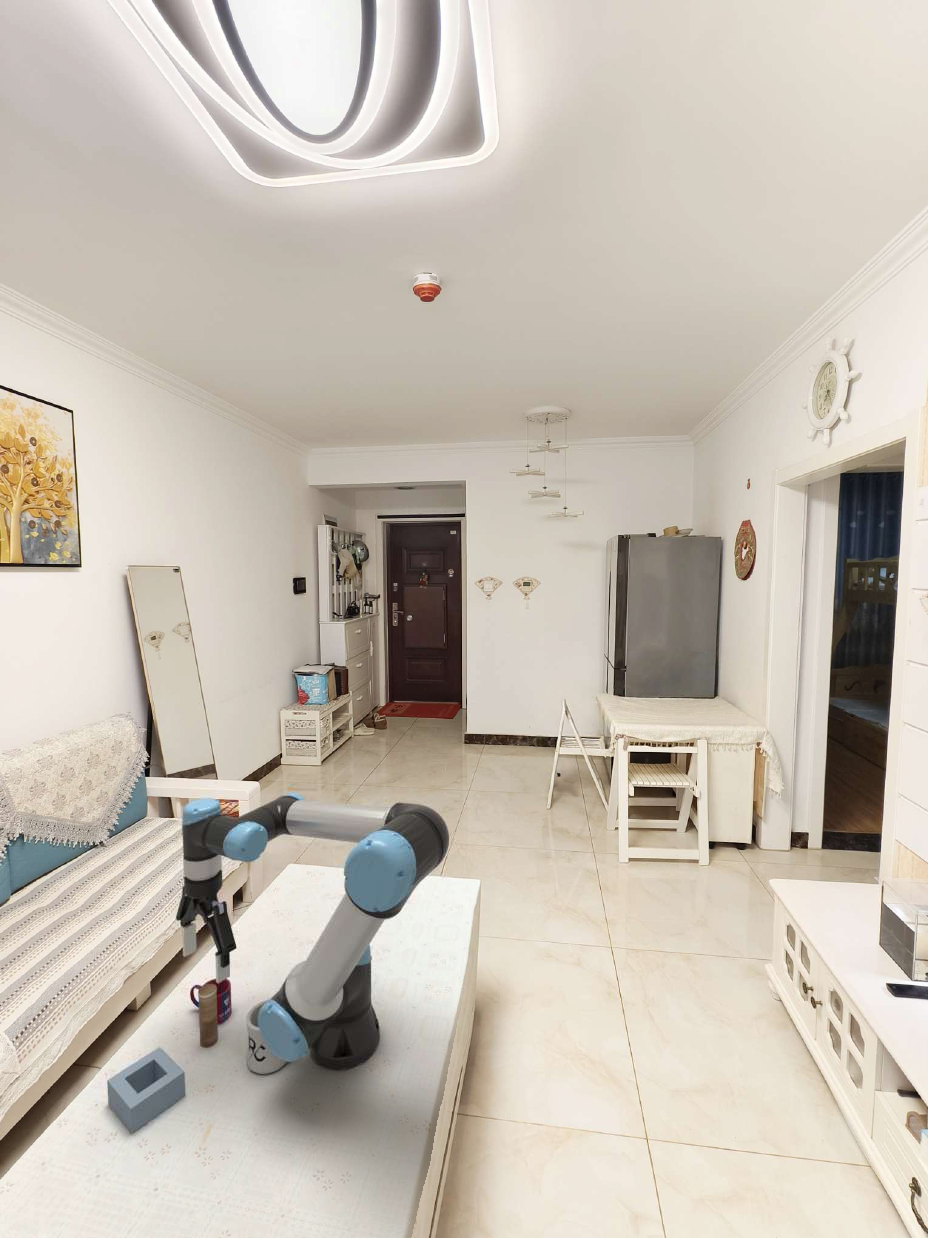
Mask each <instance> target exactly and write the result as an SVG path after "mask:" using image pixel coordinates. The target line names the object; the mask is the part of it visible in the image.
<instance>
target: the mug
mask: <svg viewBox="0 0 928 1238" xmlns="http://www.w3.org/2000/svg"><path fill="white" fill-rule="evenodd" d="M267 1000H268V999H266V1000H262V1001H261V1002H258V1003H257V1004H255V1005H254V1006H252V1008H251V1009H250V1010H249V1011H248V1013H247V1015H246V1018H245V1023H246V1029H247V1049H246V1051H247V1052H246V1064H247V1067H248V1069H249V1070H250V1071H252V1072H254V1073H257V1074H259V1075H260V1074H261V1075H266V1074H271V1073H275V1072H276V1071H278V1070H280V1069H281V1068H283V1066H284V1065H286V1063H288V1062H287V1061H285V1060H282V1059H280V1058H278V1057H277V1056H276V1055H275V1054H274V1053H273V1052H272V1051H271V1050H270V1049H269V1048H268V1046H267V1045H266V1043H265V1042H264V1040H263V1038H262V1036H261V1033H260V1030H259V1026H258V1014H259V1011H260V1009H261V1007H262V1006H263V1005H264V1004H265V1003H266V1001H267Z"/></svg>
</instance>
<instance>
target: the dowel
mask: <svg viewBox="0 0 928 1238" xmlns="http://www.w3.org/2000/svg"><path fill="white" fill-rule="evenodd" d="M203 985H204V984H203ZM203 985H201V986H202V987H201V988H200V989H199V990H198V991H197V995H198V1002H199V1008H198V1015H199V1016H198V1019H199V1020H198V1021H199V1045H200V1046H201V1047H202V1048H206V1049H207V1048H211V1047H213V1046H214V1045H216V1044H217V1042H218V1039H219V1029H218V1028H219V1027H218V1025H219V1024H217V987H216V985H215V984H206V985H204V986H203Z"/></svg>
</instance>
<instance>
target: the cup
mask: <svg viewBox="0 0 928 1238" xmlns="http://www.w3.org/2000/svg"><path fill="white" fill-rule="evenodd" d="M206 984H215V985H216V987H217V1024H218V1025H221V1024H223V1023H224V1022H225V1021H227V1020H228V1019H229V1018H230V1016H231V1015H232V985H231V981H230V979H228V978H226V979H225V980H223V981H221V982H220V983H217V982H216V978H212V979H211V980H208V981H207V982H205V983H204V984H203V985H200V984H195V985H193V986H192V987H191V988H190V990H189V991H190V992H189V998H190V1000H191V1003H192V1004H193V1005H194V1006H195V1007H197V1008H198V1009H199V1000H198V1001H197V998H196V996H195V989H196V990H198V991H199V989H200V988H201V987H202V986H204V985H206Z"/></svg>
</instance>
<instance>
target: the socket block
mask: <svg viewBox="0 0 928 1238" xmlns="http://www.w3.org/2000/svg"><path fill="white" fill-rule="evenodd" d="M185 1077H186V1075H185V1070H184V1069H182V1068H181V1066H179V1064H177V1062H176V1061H175V1060H174V1059H172V1058H171V1057H170V1055H169V1054H167V1052H166V1051H165V1050H164V1049H163V1048H162V1047H161V1046H158V1048H155V1049H154V1050H152V1051H151V1052H150V1053H148V1054H146V1055H145V1056H143V1057H141V1058H139V1059H138V1060H136V1061H135V1062H134V1063H132V1064H131V1065H129V1066H127V1067H126V1068H124V1069H123V1070H120V1071H119V1072H118V1073H116V1074H115V1075H113V1076H111V1077H110V1078H108V1079H107V1080H106V1081H107V1082H106V1083H107V1086H106V1087H107V1102H108V1103H107V1105H108V1106H109V1107H110V1108H111V1110H112V1111H113V1112H114V1113H115V1115H116V1116H117V1117H118V1118H119V1120H120V1121H121V1123H122V1124H123V1125H124V1126H125V1128H126V1129H127V1130H128V1131H129V1133H131V1135H133V1134H135V1133H136V1132H138V1131H139V1130H140V1129H141V1128H142V1127H144V1126H145V1125H147V1124H149V1122H151V1121H152V1120H154V1119H155V1118H157V1117H158V1116H159V1115H160V1114H162V1113H163V1112H164V1111H166V1110H167V1109H169V1108H170V1107H171V1106H174V1104H175V1103H177V1102H178V1101H180V1100H182V1099H183V1098H184V1097H185V1096H186V1079H185Z"/></svg>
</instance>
